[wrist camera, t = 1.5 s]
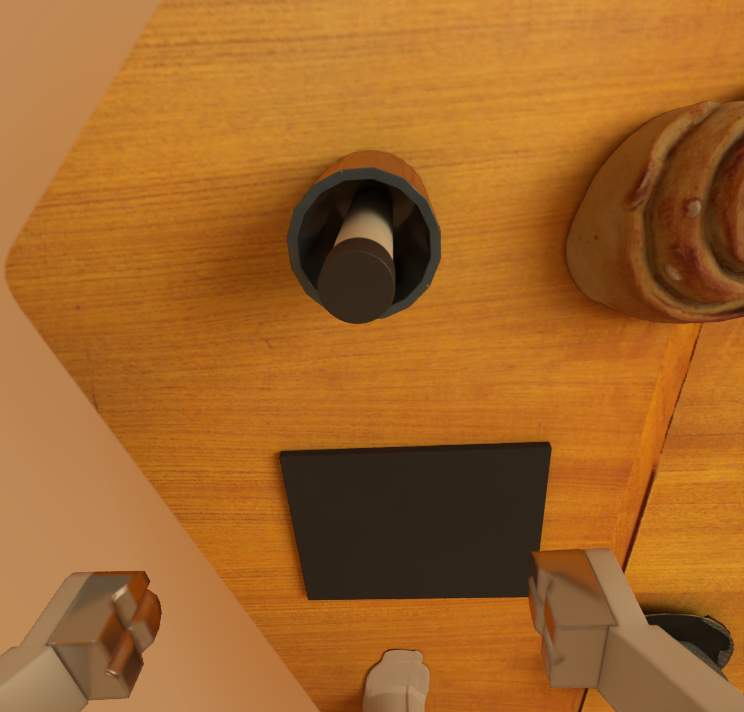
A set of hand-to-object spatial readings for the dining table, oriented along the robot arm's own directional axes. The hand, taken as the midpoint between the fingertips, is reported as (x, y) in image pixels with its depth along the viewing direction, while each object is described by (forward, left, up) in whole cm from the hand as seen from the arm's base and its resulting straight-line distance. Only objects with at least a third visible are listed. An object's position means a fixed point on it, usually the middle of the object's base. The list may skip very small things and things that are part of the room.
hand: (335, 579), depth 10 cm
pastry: (+20, +2, -26) cm, 33 cm away
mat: (+2, -25, -25) cm, 36 cm away
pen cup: (0, +3, -25) cm, 26 cm away
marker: (0, +3, -25) cm, 25 cm away
